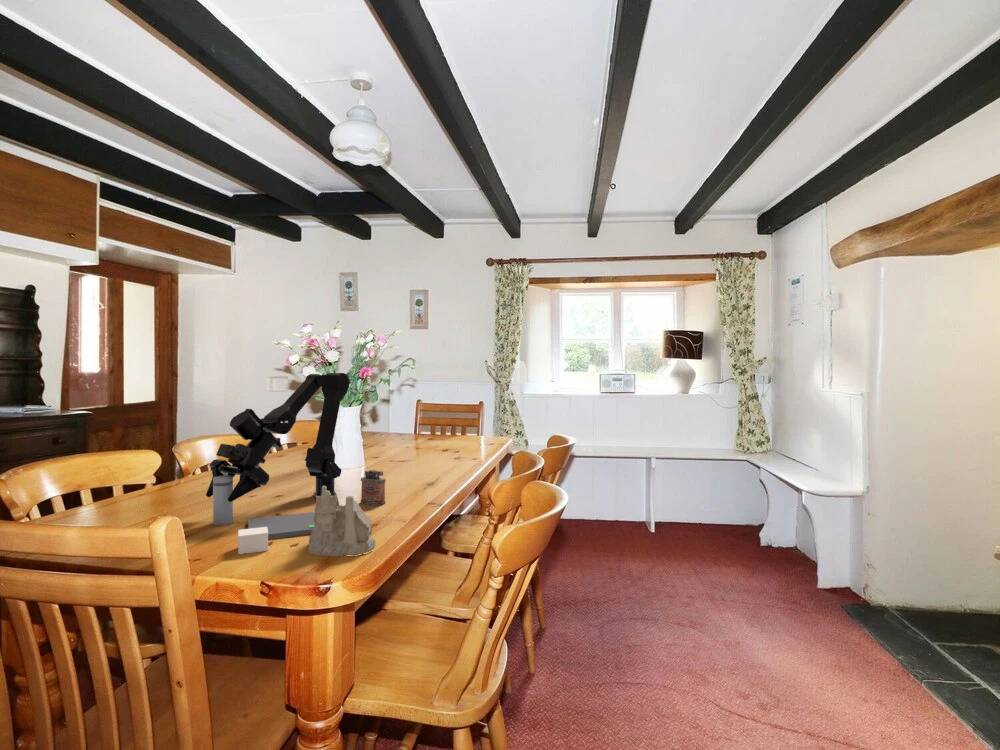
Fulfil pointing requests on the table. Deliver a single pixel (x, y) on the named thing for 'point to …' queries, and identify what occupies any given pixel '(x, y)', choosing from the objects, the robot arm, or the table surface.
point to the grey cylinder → (222, 500)
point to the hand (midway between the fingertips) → (217, 498)
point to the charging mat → (273, 530)
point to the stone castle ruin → (339, 527)
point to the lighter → (373, 488)
